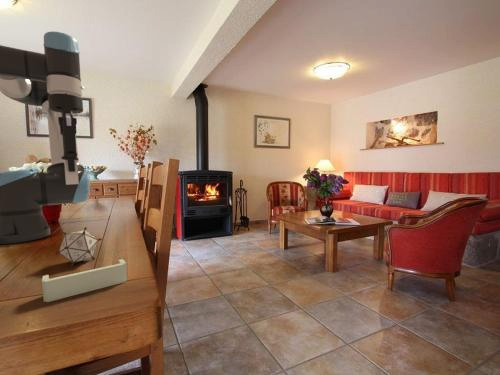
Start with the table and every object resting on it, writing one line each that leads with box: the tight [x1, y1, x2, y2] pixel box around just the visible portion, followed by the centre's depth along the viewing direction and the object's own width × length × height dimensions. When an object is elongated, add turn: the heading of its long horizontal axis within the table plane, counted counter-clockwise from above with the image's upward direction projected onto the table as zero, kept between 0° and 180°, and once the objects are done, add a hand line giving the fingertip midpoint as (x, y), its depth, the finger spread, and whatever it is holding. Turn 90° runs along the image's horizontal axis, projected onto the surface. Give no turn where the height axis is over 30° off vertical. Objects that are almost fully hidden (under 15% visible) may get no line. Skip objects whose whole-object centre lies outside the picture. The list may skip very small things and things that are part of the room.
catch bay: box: [41, 258, 128, 303], centre depth 48 cm, size 4×13×4 cm, turn 127°
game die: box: [54, 226, 103, 267], centre depth 62 cm, size 9×8×10 cm
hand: (72, 183), depth 71 cm, fingers open, 3 cm apart
